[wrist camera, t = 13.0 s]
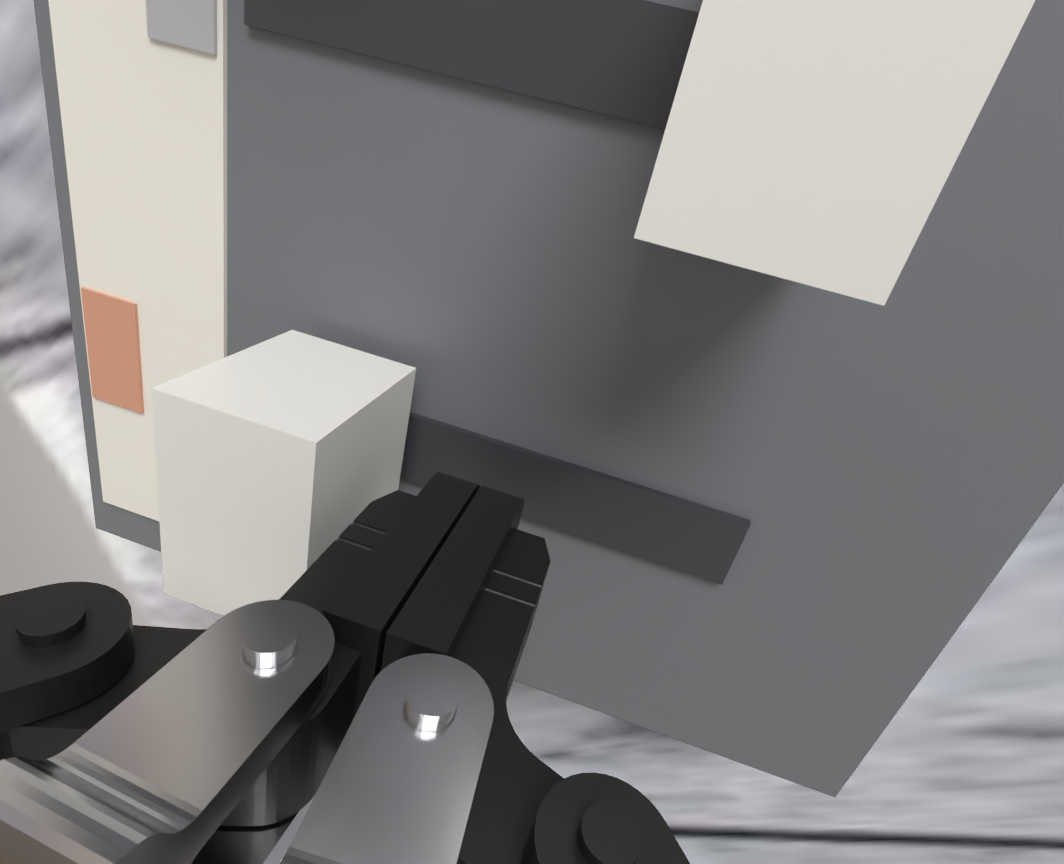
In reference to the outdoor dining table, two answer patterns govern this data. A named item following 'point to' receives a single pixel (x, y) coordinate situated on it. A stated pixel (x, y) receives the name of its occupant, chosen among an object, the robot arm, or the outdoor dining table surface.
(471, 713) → the robot arm
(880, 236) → the switch tab
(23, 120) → the outdoor dining table surface
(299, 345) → the switch tab
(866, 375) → the panel
